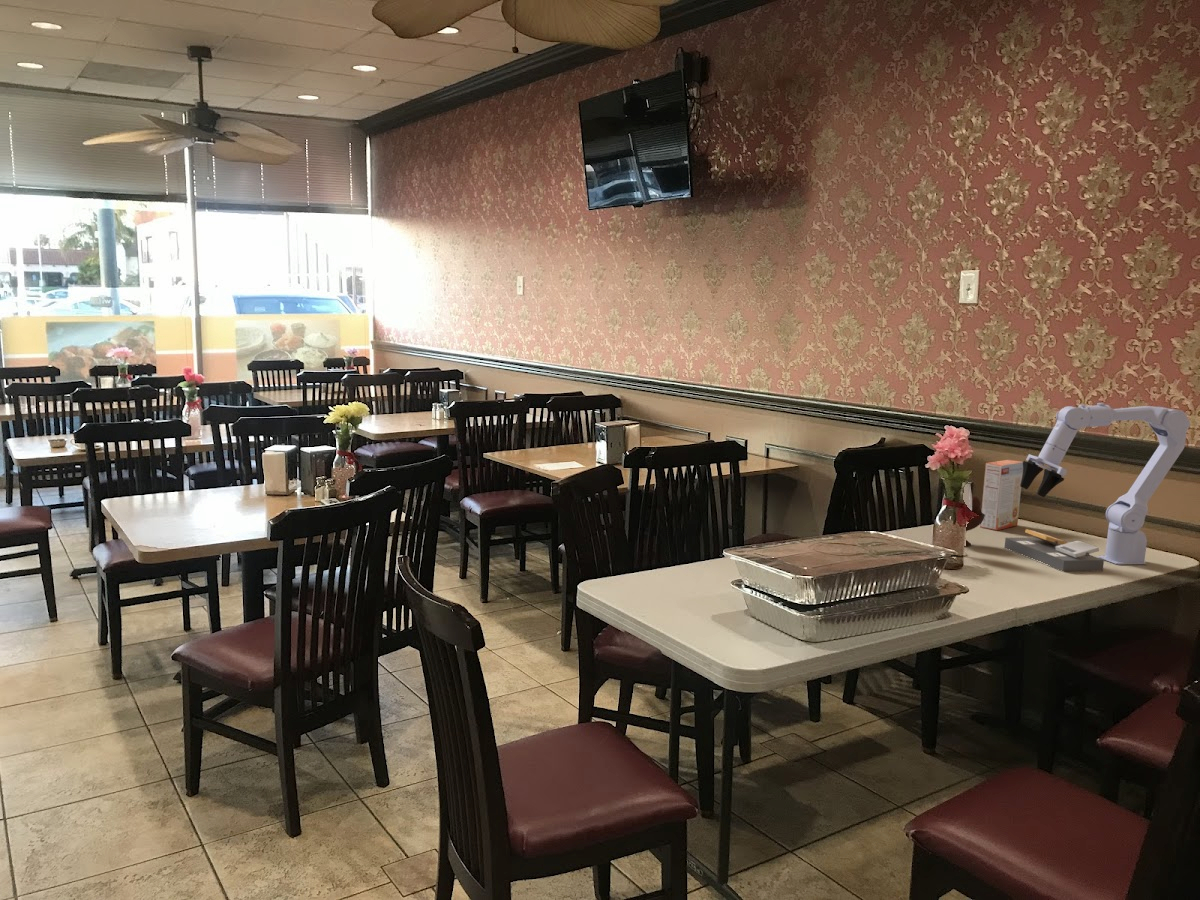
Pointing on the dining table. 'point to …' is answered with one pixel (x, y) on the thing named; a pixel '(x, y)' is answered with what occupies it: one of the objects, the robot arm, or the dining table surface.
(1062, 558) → the rocker switch panel
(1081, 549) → the rocker
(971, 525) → the ice cream bowl
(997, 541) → the dining table surface
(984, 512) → the cracker box
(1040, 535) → the plate
